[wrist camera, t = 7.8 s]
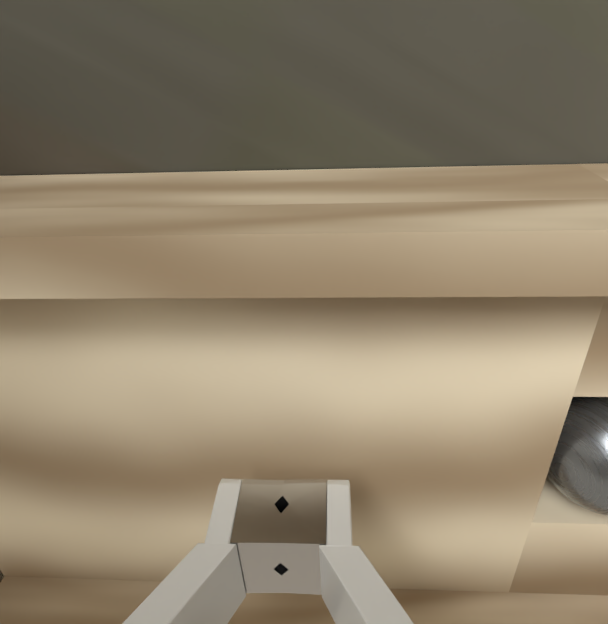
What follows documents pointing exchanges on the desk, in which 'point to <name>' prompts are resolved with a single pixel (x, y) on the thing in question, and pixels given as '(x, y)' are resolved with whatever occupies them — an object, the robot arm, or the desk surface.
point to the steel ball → (583, 455)
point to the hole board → (302, 379)
